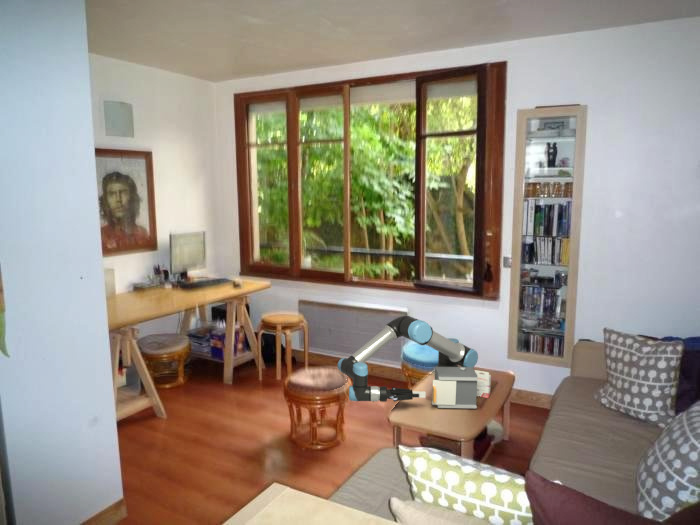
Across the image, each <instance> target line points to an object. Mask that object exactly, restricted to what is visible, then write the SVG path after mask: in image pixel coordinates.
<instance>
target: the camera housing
mask: <svg viewBox="0 0 700 525" xmlns="http://www.w3.org/2000/svg"><path fill="white" fill-rule="evenodd" d="M434 380H456V402H455V405H435V406H436V408H437V409H475V410H476V409H477V408H478V406H477V396H476V395H477V381H478V378H477V374H476V372H475V369H474V367H473V368H472V367H462V366H458V367H437V366H435V367H434Z"/></svg>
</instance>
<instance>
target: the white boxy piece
mask: <svg viewBox="0 0 700 525" xmlns="http://www.w3.org/2000/svg"><path fill="white" fill-rule="evenodd" d="M431 393H432V394H431V405H433V406H436V405H455V402H456V380H435V379H432V388H431Z"/></svg>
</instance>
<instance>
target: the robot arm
mask: <svg viewBox="0 0 700 525" xmlns="http://www.w3.org/2000/svg"><path fill="white" fill-rule="evenodd" d="M400 337H403V338H406V339H407V340H410V341H412V342H414V343H416V344H417V345H420V346H425V345H426V346H428V347H429V348H431V349H433V350H435V351H437V352H438V356H437V357H438V358H437V359H438V360H437V362H438V363H437V365H436V367H472V368H473V369H474V367H475V366H476V364H477V363H478V361H479V360H478V359H479V353H478V351H477V350H476V349H474V348H472V347H469V346H467V345H464V344H463V343H461V342H459V341H460V340H459V339H457V338H452V337H451V338H450V337H449V338H448V337H445V336H443V335H442V334H439V333H438V332H436V331H435V330H433V327H432V326H431V325H430V324H429V323H428V322H426V321H425V320H420V319H418V318H415V317H413V316H410V315H401V316H398V317H396V318H394V319H392V320H390V321H389V322H388V323H387V324H386V325H384V328H383V329H382V330H380V331H379V333H377V334H376V335H374V337H372V338H371V339H370V340H368V341H367V342H366V343H364V344H363V345H362V346H361V347H360V348H358V349H357V350H356V351H355V352H354V353H352V354H351V355H350V356H348V358H347V357H342V358H340V359H339V361H338V362H337V369H338V371H340V372H341V373H342V374H344V375H346V376H348V377H349V378H350V379H352V385H349V388H348V400H349V401H351V402H372V403H375V402H381V403H382V402H385V403H386V402H387V401H388V399H389V400H392V401H393V402H401V401H409V400H413V399H415V398H417V399H420V398H421V399H422V398H424V399H425V398H426V394H427V393H426V391H423V390H422V391H416V390H415V391H414V390H413V389H410V388H400V387H395V386H391V388H388V387H387V386H385V385H384V386H381V385H380V386H378V385H377V386H376V385H373V386H371V385H370V386H369V385H368V380H369V379H368V378H369V370H368V367H369V366H368V364H367V363H366V362H367V361H369V360H370V359H371V358H372V357H374V356H375V355H376V354H377V353H378V352H379V351H381V350H382V349H383V348H384V347H386V346H387V345H388V344H390V343H391V342H392V341H393V340H397V339H399V338H400Z"/></svg>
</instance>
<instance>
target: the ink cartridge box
mask: <svg viewBox="0 0 700 525" xmlns="http://www.w3.org/2000/svg"><path fill="white" fill-rule="evenodd" d="M474 371H475V372H476V374H477V378H478V381H477V395H476V397H479V396H480V397H481V398H485V399H489V398H490V396H491V384H492V380H491V379H492V375H491V374H490V372H488V371H483V370H477V369H474Z"/></svg>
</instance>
